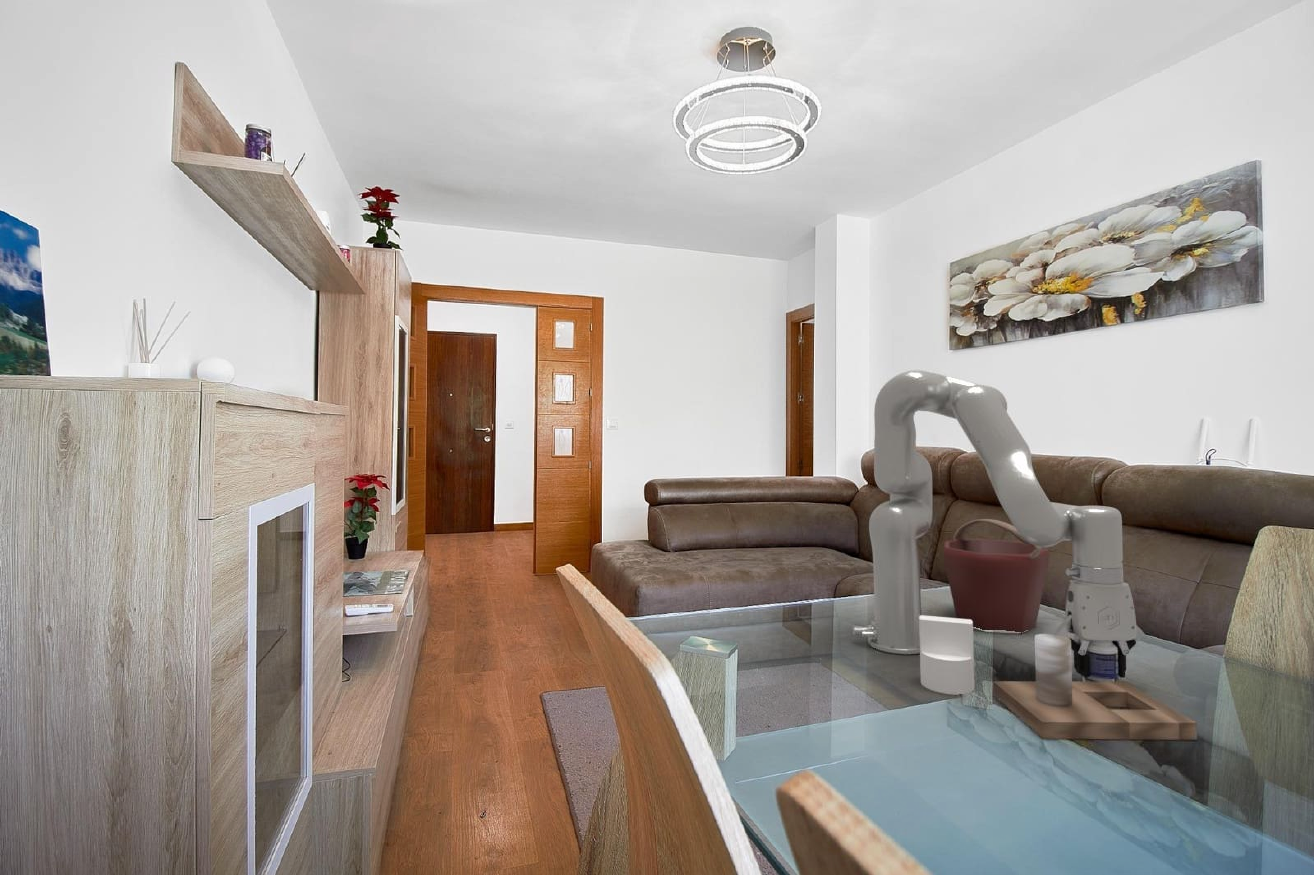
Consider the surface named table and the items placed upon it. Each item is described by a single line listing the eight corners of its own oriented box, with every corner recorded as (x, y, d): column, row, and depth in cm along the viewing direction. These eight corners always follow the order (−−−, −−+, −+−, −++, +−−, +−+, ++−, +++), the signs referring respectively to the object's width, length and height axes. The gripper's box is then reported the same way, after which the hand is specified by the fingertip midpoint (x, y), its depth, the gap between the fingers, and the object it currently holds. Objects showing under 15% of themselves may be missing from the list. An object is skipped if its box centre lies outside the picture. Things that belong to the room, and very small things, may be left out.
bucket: (1070, 639, 141) (1068, 526, 141) (970, 640, 141) (967, 528, 141) (1010, 609, 165) (1008, 513, 165) (925, 611, 166) (922, 514, 166)
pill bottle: (1124, 691, 112) (1123, 636, 112) (1090, 690, 113) (1089, 635, 113) (1109, 680, 117) (1108, 627, 117) (1077, 678, 118) (1075, 626, 118)
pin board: (1042, 738, 96) (1040, 655, 96) (993, 695, 112) (991, 624, 112) (1196, 739, 94) (1194, 655, 94) (1124, 696, 110) (1122, 623, 110)
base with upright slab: (973, 679, 119) (972, 615, 119) (975, 697, 111) (973, 629, 111) (921, 673, 123) (920, 611, 123) (919, 690, 115) (917, 623, 115)
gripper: (1060, 579, 112) (1062, 682, 112) (1162, 578, 111) (1164, 683, 111) (1037, 570, 119) (1039, 667, 119) (1132, 569, 118) (1135, 667, 118)
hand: (1100, 673), depth 115 cm, fingers closed on pill bottle, 5 cm apart
